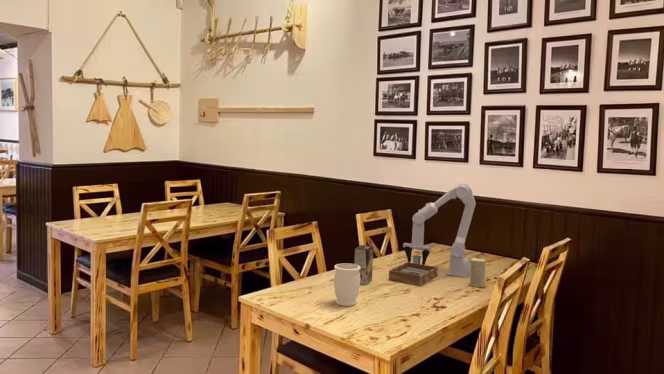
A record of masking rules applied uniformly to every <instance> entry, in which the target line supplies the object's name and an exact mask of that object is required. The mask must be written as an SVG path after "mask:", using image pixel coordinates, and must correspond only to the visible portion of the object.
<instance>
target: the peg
mask: <svg viewBox="0 0 664 374" xmlns="http://www.w3.org/2000/svg"><path fill="white" fill-rule="evenodd" d="M421 256H422V255H413V256H412V263H415V264H421Z"/></svg>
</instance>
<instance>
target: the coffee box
mask: <svg viewBox="0 0 664 374" xmlns="http://www.w3.org/2000/svg"><path fill="white" fill-rule="evenodd" d="M373 263H374V246H373V245H367V244H366V245H362V244H361V245H359V246H357V247H355V248H354V263H353V264H356V265H359V266H360V268H361V269H360V270H359V273H360V285H361V286H363V285H364V286H366V285H369V283H371V282H372V281H373V268H374V267H373V265H374V264H373Z"/></svg>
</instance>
